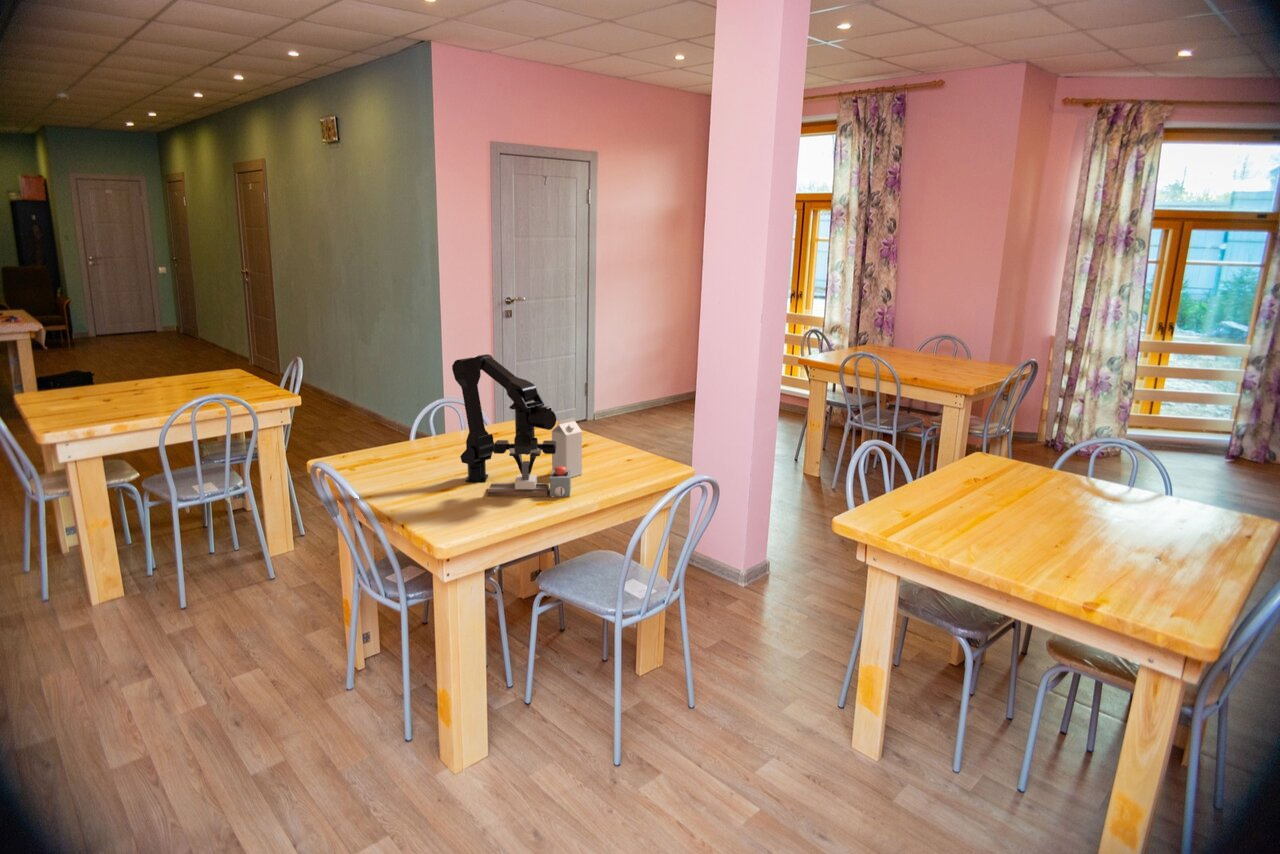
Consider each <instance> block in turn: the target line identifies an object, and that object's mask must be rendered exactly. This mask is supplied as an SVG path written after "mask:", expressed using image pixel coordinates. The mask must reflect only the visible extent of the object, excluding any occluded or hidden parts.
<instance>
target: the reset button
mask: <svg viewBox="0 0 1280 854" xmlns="http://www.w3.org/2000/svg"><path fill="white" fill-rule="evenodd" d="M555 475H557V476H564V475H566V467H565V466H557V467H555Z"/></svg>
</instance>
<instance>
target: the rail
mask: <svg viewBox="0 0 1280 854" xmlns="http://www.w3.org/2000/svg"><path fill="white" fill-rule="evenodd" d="M548 489H549V490H550V483H546V482H545V483H543V482H541V483H540V482H537V484H536V487H535V489H515V482H491V484H490V485H489V487H488V489H487V493H486V495H487V496H486V497H487V498H488V497H492V498H493V497H495V498H496V497H497V498H499V497H500V498H501V497H504V498H505V497H508V498H509V497H511V498H512V496H547V497H548V494H547V493H549V490H548Z"/></svg>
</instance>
